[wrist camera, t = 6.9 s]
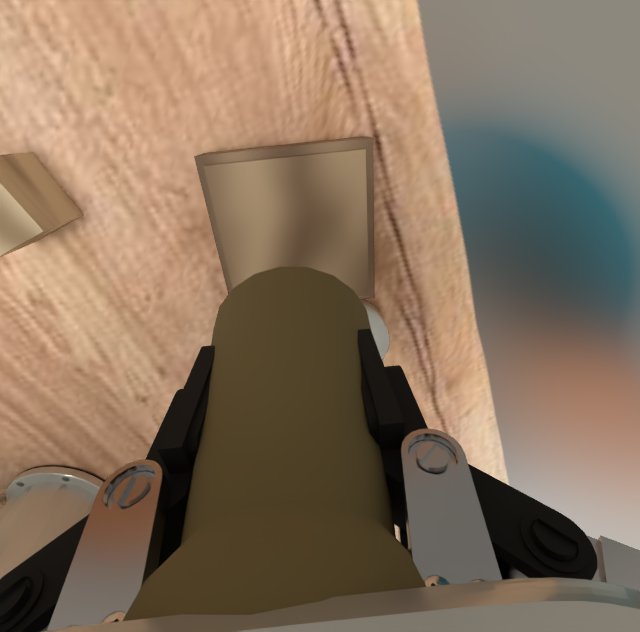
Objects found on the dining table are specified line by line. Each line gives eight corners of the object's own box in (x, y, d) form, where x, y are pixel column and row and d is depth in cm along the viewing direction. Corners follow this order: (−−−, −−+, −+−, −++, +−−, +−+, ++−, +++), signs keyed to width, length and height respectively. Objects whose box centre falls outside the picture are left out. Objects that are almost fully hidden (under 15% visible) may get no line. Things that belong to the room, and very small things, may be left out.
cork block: (36, 241, 28) (-12, 262, 24) (-18, 183, 26) (-82, 194, 21) (84, 214, 27) (43, 231, 23) (33, 152, 25) (-23, 157, 20)
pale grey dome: (317, 359, 36) (318, 377, 33) (310, 301, 32) (311, 316, 30) (382, 352, 36) (389, 369, 33) (382, 293, 32) (390, 307, 30)
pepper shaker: (401, 339, 13) (667, 881, 4) (293, 418, 15) (287, 923, 6) (294, 229, 11) (275, 952, 1) (180, 338, 13) (-174, 985, 3)
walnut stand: (239, 295, 31) (232, 316, 28) (206, 152, 25) (191, 157, 22) (367, 281, 31) (375, 300, 28) (364, 136, 25) (374, 137, 22)
